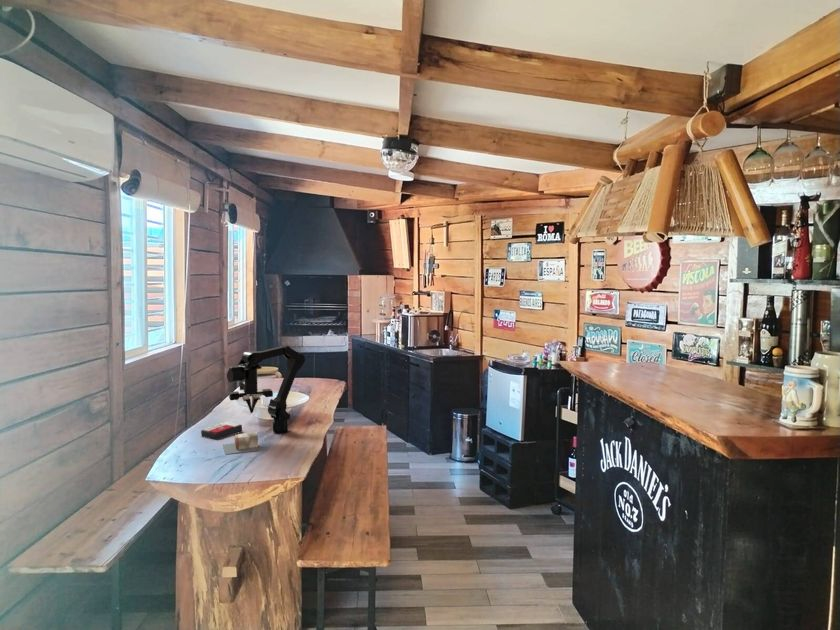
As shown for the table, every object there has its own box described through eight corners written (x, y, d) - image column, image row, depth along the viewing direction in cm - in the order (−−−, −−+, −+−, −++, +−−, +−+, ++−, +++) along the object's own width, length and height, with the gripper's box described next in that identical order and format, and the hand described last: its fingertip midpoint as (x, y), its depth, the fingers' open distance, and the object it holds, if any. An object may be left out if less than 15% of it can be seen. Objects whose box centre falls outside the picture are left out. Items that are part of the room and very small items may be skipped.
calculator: (200, 429, 249) (226, 420, 262) (201, 437, 249) (227, 428, 262) (215, 432, 243) (242, 423, 256) (216, 441, 244) (242, 431, 256)
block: (256, 432, 236) (234, 434, 233) (257, 435, 232) (236, 438, 228) (256, 443, 237) (235, 446, 233) (257, 446, 232) (236, 449, 229)
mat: (253, 441, 241) (253, 440, 241) (257, 450, 228) (257, 449, 228) (223, 445, 235) (223, 444, 235) (225, 454, 223) (225, 454, 223)
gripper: (268, 374, 254) (269, 406, 256) (227, 377, 247) (228, 410, 248) (272, 378, 244) (273, 412, 245) (229, 382, 237) (230, 416, 238)
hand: (251, 412), depth 244 cm, fingers closed
